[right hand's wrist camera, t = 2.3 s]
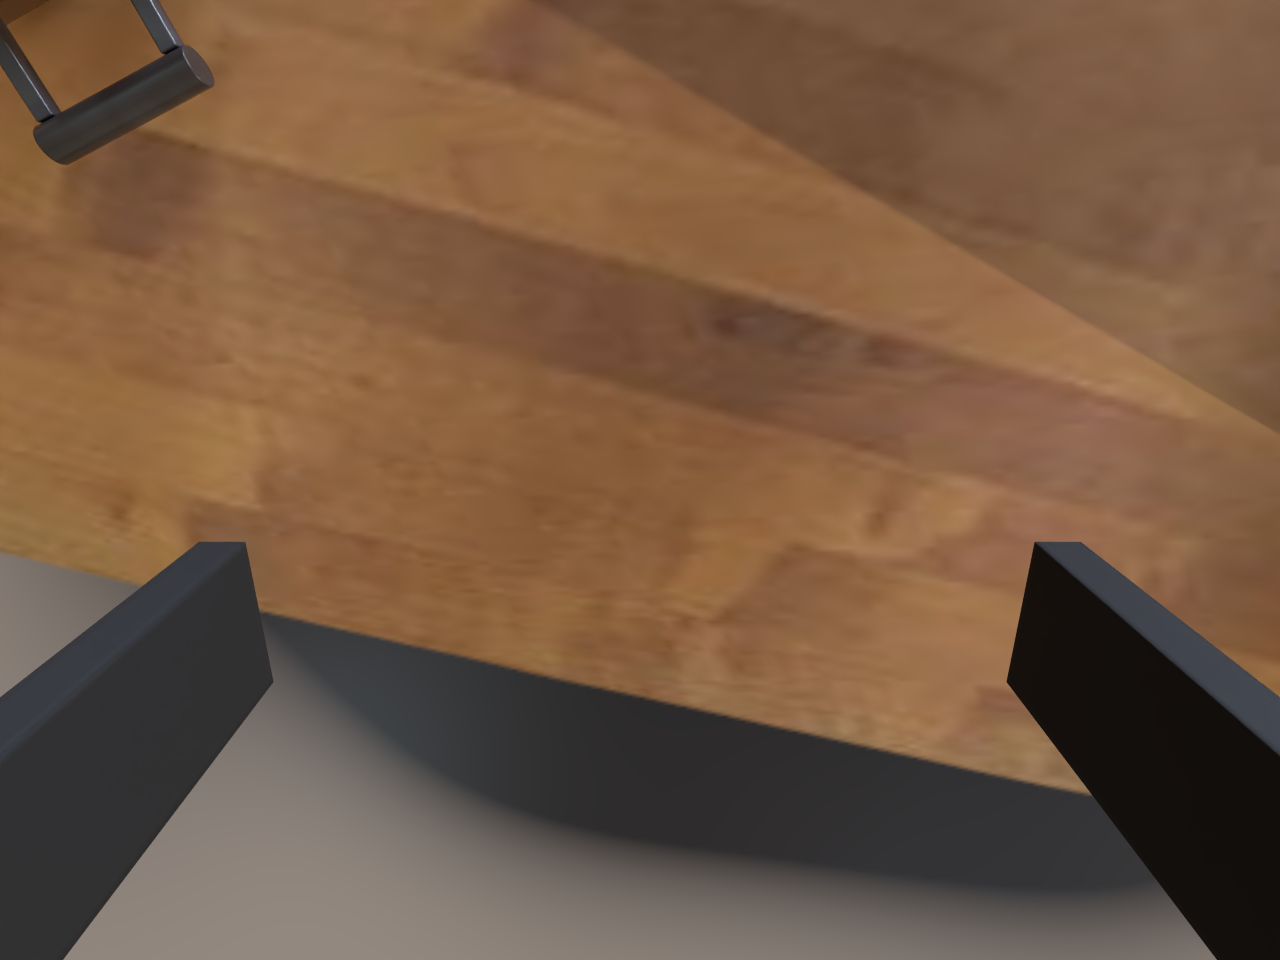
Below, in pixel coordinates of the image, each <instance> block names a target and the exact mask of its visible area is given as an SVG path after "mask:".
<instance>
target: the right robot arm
mask: <svg viewBox="0 0 1280 960" xmlns="http://www.w3.org/2000/svg"><path fill="white" fill-rule="evenodd" d="M272 683H273V678H272V672H271V667H270V662H269V658H268V653H267V648H266V643H265V638H264V633H263V628H262V623H261V618H260V613H259V608H258V603H257V598H256V593H255V588H254V583H253V578H252V573H251V568H250V563H249V558H248V553H247V548H246V543H245V542H199V543H197V544H196V545H195V546H193V547H192V548H191V549H190V550H188V551H187V552H186V553H185V554H183V555H182V556H181V557H179V558H178V559H177V560H176V561H174V562H173V563H172V564H170V565H169V566H168V567H167V568H165V569H164V570H163V571H161V572H160V573H159V574H158V575H156V576H155V577H154V578H152V579H151V580H150V581H149V582H147V583H146V584H145V585H144V586H142V587H141V588H140V589H138V590H137V591H136V592H135V593H133V594H132V595H131V596H129V597H128V598H127V599H126V600H124V601H123V602H122V603H120V604H119V605H118V606H117V607H115V608H114V609H113V610H112V611H110V612H109V613H108V614H106V615H105V616H104V617H103V618H101V619H100V620H99V621H97V622H96V623H95V624H94V625H92V626H91V627H90V628H88V629H87V630H86V631H85V632H83V633H82V634H81V635H80V636H78V637H77V638H76V639H74V640H73V641H72V642H71V643H69V644H68V645H67V646H65V647H64V648H63V649H62V650H60V651H59V652H58V653H56V654H55V655H54V656H53V657H51V658H50V659H49V660H47V661H46V662H45V663H44V664H42V665H41V666H40V667H39V668H37V669H36V670H35V671H33V672H32V673H31V674H30V675H28V676H27V677H26V678H24V679H23V680H22V681H21V682H19V683H18V684H17V685H15V686H14V687H13V688H12V689H10V690H9V691H8V692H6V693H5V694H4V695H3V696H1V697H0V960H63V959H64V958H65V956H66V955H67V954H68V952H69V951H70V950H71V948H72V947H73V946H74V945H75V943H76V942H77V941H78V939H79V938H80V937H81V935H82V934H83V933H84V931H85V930H86V929H87V927H88V926H89V925H90V923H91V922H92V921H93V919H94V918H95V917H96V915H97V914H98V913H99V912H100V910H101V909H102V908H103V906H104V905H105V904H106V902H107V901H108V900H109V898H110V897H111V896H112V894H113V893H114V892H115V890H116V889H117V888H118V886H119V885H120V884H121V882H122V881H123V880H124V879H125V877H126V876H127V874H128V873H129V872H130V871H131V869H132V868H133V867H134V865H135V864H136V863H137V861H138V860H139V859H140V857H141V856H142V855H143V853H144V852H145V851H146V849H147V848H148V847H149V845H150V844H151V843H152V841H153V840H154V839H155V838H156V836H157V835H158V834H159V832H160V831H161V830H162V828H163V827H164V826H165V824H166V823H167V822H168V820H169V819H170V818H171V816H172V815H173V814H174V812H175V811H176V810H177V809H178V807H179V806H180V804H181V803H182V802H183V801H184V799H185V798H186V797H187V795H188V794H189V793H190V791H191V790H192V789H193V787H194V786H195V785H196V783H197V782H198V781H199V779H200V778H201V777H202V776H203V774H204V773H205V772H206V770H207V769H208V768H209V766H210V765H211V764H212V762H213V761H214V760H215V758H216V757H217V756H218V754H219V753H220V752H221V750H222V749H223V748H224V746H225V745H226V744H227V742H228V741H229V740H230V739H231V737H232V736H233V735H234V733H235V732H236V731H237V729H238V728H239V727H240V725H241V724H242V723H243V721H244V720H245V719H246V717H247V716H248V715H249V713H250V712H251V711H252V709H253V708H254V707H255V706H256V704H257V703H258V701H259V700H260V699H261V698H262V696H263V695H264V694H265V692H266V691H267V690H268V688H269V687H270V686H271V684H272ZM1007 683H1008V684H1009V686H1010V687H1011V688H1012V690H1013V691H1014V692H1015V694H1016V695H1017V696H1018V698H1019V699H1020V700H1021V702H1022V703H1023V704H1024V706H1025V707H1026V708H1027V709H1028V711H1029V712H1030V713H1031V715H1032V716H1033V717H1034V719H1035V720H1036V721H1037V723H1038V724H1039V725H1040V727H1041V728H1042V729H1043V731H1044V732H1045V733H1046V735H1047V736H1048V737H1049V739H1050V740H1051V741H1052V743H1053V744H1054V745H1055V746H1056V748H1057V749H1058V750H1059V752H1060V753H1061V754H1062V756H1063V757H1064V758H1065V760H1066V761H1067V762H1068V764H1069V765H1070V766H1071V768H1072V769H1073V770H1074V772H1075V773H1076V774H1077V776H1078V777H1079V778H1080V779H1081V781H1082V782H1083V783H1084V785H1085V786H1086V787H1087V789H1088V790H1089V791H1090V793H1091V794H1092V795H1093V797H1094V798H1095V799H1096V801H1097V802H1098V803H1099V805H1100V806H1101V807H1102V809H1103V810H1104V811H1105V812H1106V814H1107V815H1108V816H1109V818H1110V819H1111V820H1112V822H1113V823H1114V824H1115V826H1116V827H1117V828H1118V830H1119V831H1120V832H1121V834H1122V835H1123V836H1124V838H1125V839H1126V840H1127V842H1128V843H1129V844H1130V845H1131V847H1132V848H1133V849H1134V851H1135V852H1136V853H1137V855H1138V856H1139V857H1140V859H1141V860H1142V861H1143V863H1144V864H1145V865H1146V867H1147V868H1148V869H1149V871H1150V872H1151V873H1152V875H1153V876H1154V877H1155V878H1156V880H1157V881H1158V882H1159V884H1160V885H1161V886H1162V888H1163V889H1164V890H1165V892H1166V893H1167V894H1168V896H1169V897H1170V898H1171V900H1172V901H1173V902H1174V904H1175V905H1176V906H1177V908H1178V909H1179V910H1180V912H1181V913H1182V914H1183V915H1184V917H1185V918H1186V919H1187V921H1188V922H1189V923H1190V925H1191V926H1192V927H1193V929H1194V930H1195V931H1196V932H1197V934H1198V935H1199V937H1200V938H1201V939H1202V941H1203V942H1204V943H1205V944H1206V946H1207V947H1208V948H1209V950H1210V951H1211V952H1212V954H1213V955H1214V956H1215V958H1216V959H1217V960H1280V697H1279V696H1277V695H1276V694H1275V693H1274V692H1272V691H1271V690H1270V689H1268V688H1267V687H1266V686H1265V685H1263V684H1262V683H1261V682H1259V681H1258V680H1257V679H1256V678H1254V677H1253V676H1252V675H1250V674H1249V673H1248V672H1247V671H1245V670H1244V669H1243V668H1241V667H1240V666H1239V665H1238V664H1236V663H1235V662H1234V661H1233V660H1231V659H1230V658H1229V657H1227V656H1226V655H1225V654H1224V653H1222V652H1221V651H1220V650H1218V649H1217V648H1216V647H1215V646H1213V645H1212V644H1211V643H1209V642H1208V641H1207V640H1206V639H1204V638H1203V637H1202V636H1201V635H1199V634H1198V633H1197V632H1195V631H1194V630H1193V629H1192V628H1190V627H1189V626H1188V625H1186V624H1185V623H1184V622H1183V621H1181V620H1180V619H1179V618H1177V617H1176V616H1175V615H1174V614H1172V613H1171V612H1170V611H1168V610H1167V609H1166V608H1165V607H1163V606H1162V605H1161V604H1160V603H1158V602H1157V601H1156V600H1154V599H1153V598H1152V597H1151V596H1149V595H1148V594H1147V593H1145V592H1144V591H1143V590H1142V589H1140V588H1139V587H1138V586H1136V585H1135V584H1134V583H1133V582H1131V581H1130V580H1129V579H1128V578H1126V577H1125V576H1124V575H1122V574H1121V573H1120V572H1119V571H1117V570H1116V569H1115V568H1113V567H1112V566H1111V565H1110V564H1108V563H1107V562H1106V561H1104V560H1103V559H1102V558H1101V557H1099V556H1098V555H1097V554H1095V553H1094V552H1093V551H1092V550H1090V549H1089V548H1088V547H1087V546H1085V545H1084V544H1083V543H1081V542H1035V543H1034V548H1033V553H1032V558H1031V563H1030V568H1029V573H1028V578H1027V583H1026V588H1025V593H1024V598H1023V603H1022V608H1021V613H1020V618H1019V623H1018V628H1017V633H1016V638H1015V643H1014V648H1013V653H1012V658H1011V662H1010V667H1009V672H1008V677H1007Z"/></svg>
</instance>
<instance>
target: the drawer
mask: <svg viewBox="0 0 1280 960" xmlns="http://www.w3.org/2000/svg"><path fill="white" fill-rule="evenodd" d="M47 1H48V0H0V65H1V67H2V68H3V70H4V71H5V73H6V75H7V76H8V78H9V79H10V81H11V82H12V84H13V85H14V87H15V88H16V90H17V91H18V93H19V95H20V96H21V98H22V99H23V101H24V102H25V104H26V105H27V107H28V108H29V110H30V111H31V113H32V115H33V116H34V118H35V119H36V121H37V122H41V124H39V125H37V126H36V127H35V128H34V130H33V135H34V138H35V140H36V142H37V144H38V145H39V147H40V148H41V149H42V151H43V152H44V153H45V154H46V155H47V156H48V157H50V158H51V159H52V160H54V161H55V162H57V163H60V164H63V165H68V164H70V163H72V162H74V161H76V160H78V159H80V158H82V157H83V156H85V155H87V154H89V153H91V152H93V151H95V150H96V149H98V148H100V147H102V146H104V145H106V144H108V143H109V142H111V141H113V140H115V139H117V138H119V137H121V136H122V135H124V134H126V133H128V132H130V131H132V130H134V129H135V128H137V127H139V126H141V125H143V124H145V123H147V122H148V121H150V120H152V119H154V118H156V117H158V116H160V115H161V114H163V113H165V112H167V111H169V110H171V109H173V108H174V107H176V106H178V105H180V104H182V103H184V102H186V101H187V100H189V99H191V98H193V97H195V96H197V95H199V94H200V93H202V92H204V91H206V90H208V89H210V88H212V87H213V86H214V78H213V75H212V73H211V71H210V69H209V67H208V66H207V64H206V63H205V61H204V60H203V59H202V57H201V56H200V55H199V54H198V53H197V52H196V51H195V50H194V49H193V48H191V47H190V46H188V45H184V44H183V42H182V40H181V39H180V37H179V35H178V33H177V32H176V30H175V28H174V26H173V25H172V23H171V21H170V19H169V18H168V16H167V14H166V12H165V11H164V9H163V7H162V5H161V4H160V2H159V0H131V2H132V3H133V5H134V7H135V9H136V10H137V12H138V14H139V15H140V17H141V19H142V21H143V22H144V24H145V26H146V28H147V29H148V31H149V33H150V34H151V36H152V38H153V40H154V41H155V43H156V45H157V46H158V48H159V50H160V52H161V53H162V54H165V55H164V56H162V57H161V58H159V59H157V60H155V61H153V62H152V63H150V64H148V65H146V66H144V67H142V68H141V69H139V70H137V71H135V72H133V73H132V74H130V75H128V76H126V77H124V78H123V79H121V80H119V81H117V82H115V83H113V84H112V85H110V86H108V87H106V88H104V89H103V90H101V91H99V92H97V93H95V94H94V95H92V96H90V97H88V98H86V99H84V100H83V101H81V102H79V103H77V104H75V105H74V106H72V107H70V108H68V109H66V110H65V111H63V112H61V111H60V109H59V108H58V106H57V105H56V103H55V101H54V100H53V98H52V97H51V95H50V94H49V92H48V90H47V89H46V87H45V86H44V84H43V83H42V81H41V80H40V78H39V76H38V75H37V73H36V72H35V70H34V69H33V67H32V65H31V64H30V62H29V61H28V59H27V58H26V56H25V54H24V53H23V51H22V50H21V48H20V47H19V45H18V43H17V42H16V40H15V39H14V37H13V36H12V34H11V32H10V31H9V29H8V28H7V26H6V25H7V24H9V23H11V22H12V21H14V20H16V19H17V18H19V17H21V16H23V15H24V14H26V13H28V12H29V11H31V10H33V9H35V8H36V7H38V6H40V5H42V4H43V3H45V2H47Z"/></svg>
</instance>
